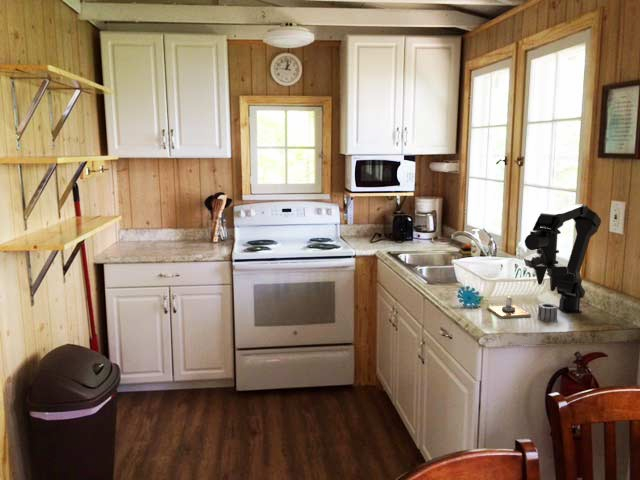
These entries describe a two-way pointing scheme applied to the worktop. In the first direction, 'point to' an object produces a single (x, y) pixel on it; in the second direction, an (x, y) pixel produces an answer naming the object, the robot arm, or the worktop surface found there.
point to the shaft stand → (508, 310)
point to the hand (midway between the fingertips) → (545, 287)
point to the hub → (547, 312)
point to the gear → (469, 297)
